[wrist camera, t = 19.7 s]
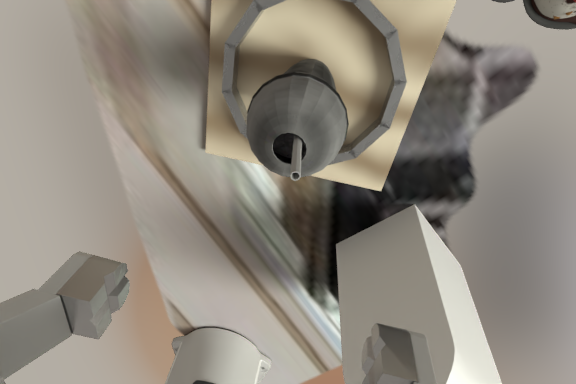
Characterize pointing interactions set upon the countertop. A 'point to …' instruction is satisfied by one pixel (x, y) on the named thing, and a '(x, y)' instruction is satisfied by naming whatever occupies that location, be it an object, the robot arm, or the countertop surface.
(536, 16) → the sundae
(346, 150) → the ring seat
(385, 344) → the robot arm
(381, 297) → the milk
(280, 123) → the beverage cup
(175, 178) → the countertop surface
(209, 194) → the countertop surface
